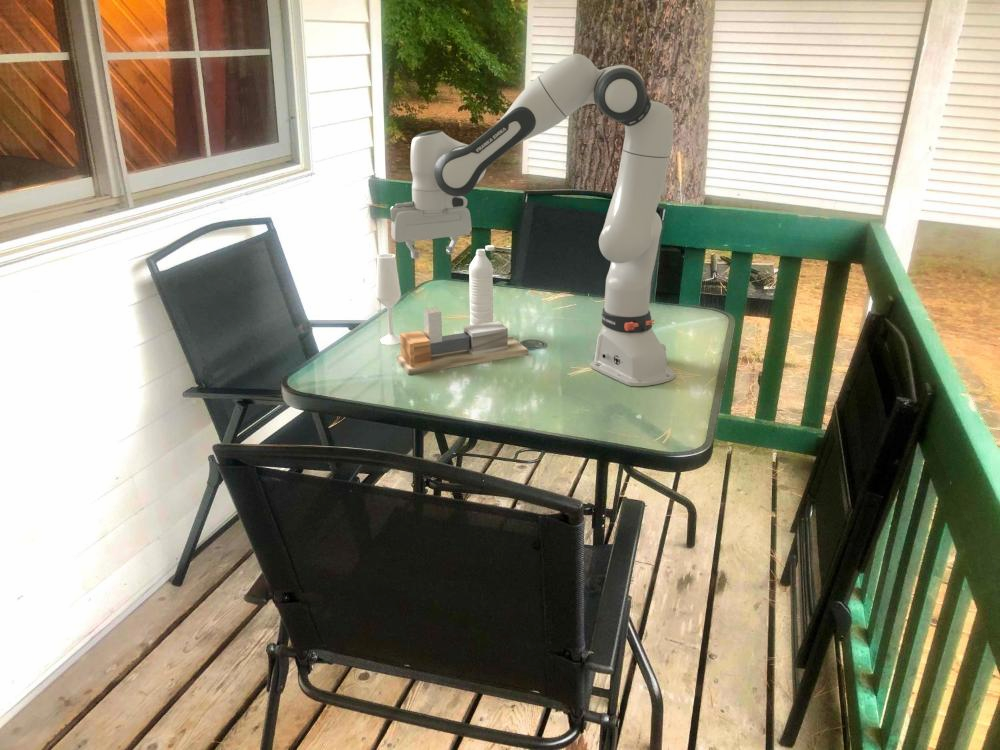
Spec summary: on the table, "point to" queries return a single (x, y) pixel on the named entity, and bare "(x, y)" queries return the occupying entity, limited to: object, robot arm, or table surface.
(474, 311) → the water bottle
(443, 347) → the slider with upright handle
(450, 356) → the base
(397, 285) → the champagne flute
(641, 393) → the table surface
